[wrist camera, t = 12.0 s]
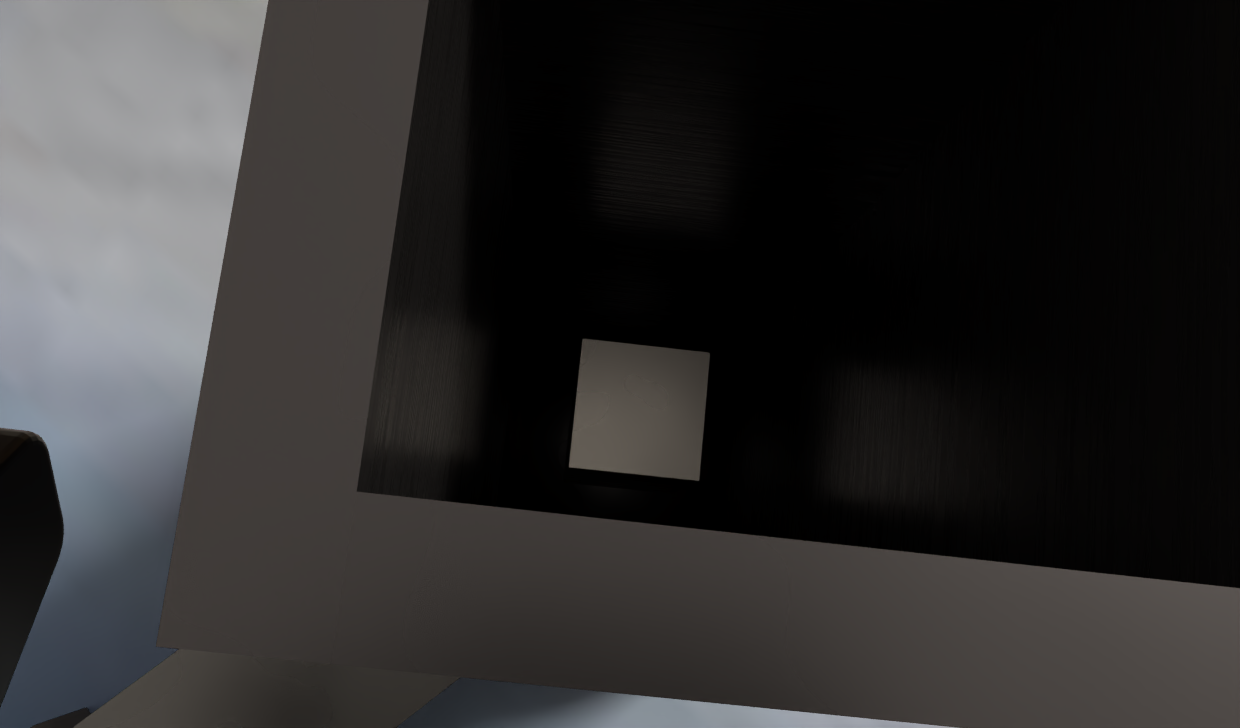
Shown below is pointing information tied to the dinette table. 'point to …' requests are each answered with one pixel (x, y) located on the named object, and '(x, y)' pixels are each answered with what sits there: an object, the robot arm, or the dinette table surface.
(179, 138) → the dinette table surface
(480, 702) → the dinette table surface
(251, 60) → the dinette table surface
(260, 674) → the ratchet
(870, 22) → the open-top metal box
